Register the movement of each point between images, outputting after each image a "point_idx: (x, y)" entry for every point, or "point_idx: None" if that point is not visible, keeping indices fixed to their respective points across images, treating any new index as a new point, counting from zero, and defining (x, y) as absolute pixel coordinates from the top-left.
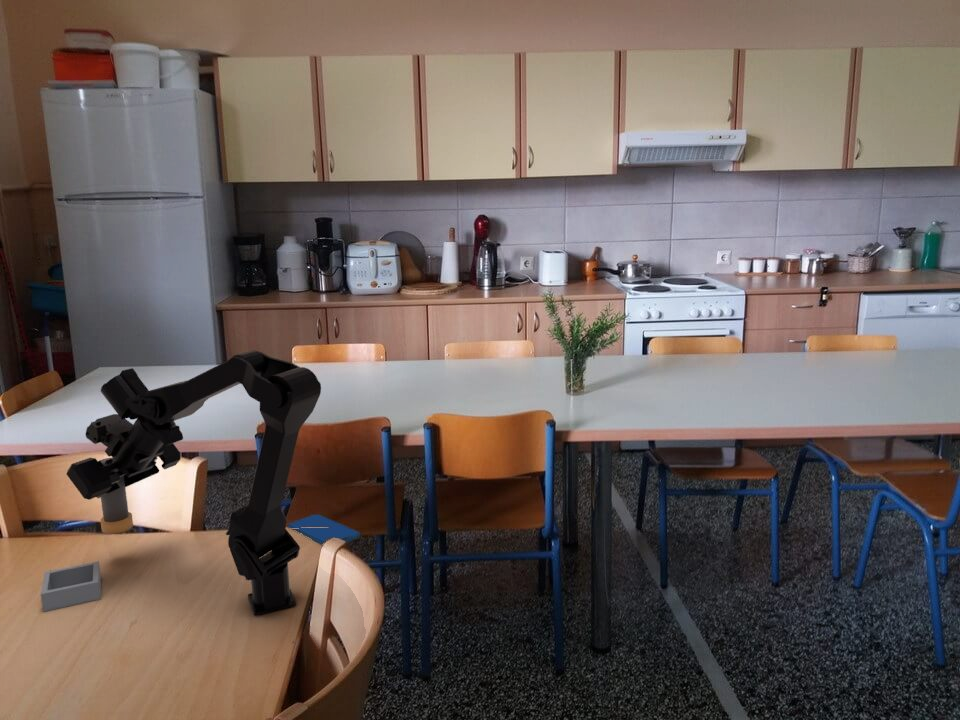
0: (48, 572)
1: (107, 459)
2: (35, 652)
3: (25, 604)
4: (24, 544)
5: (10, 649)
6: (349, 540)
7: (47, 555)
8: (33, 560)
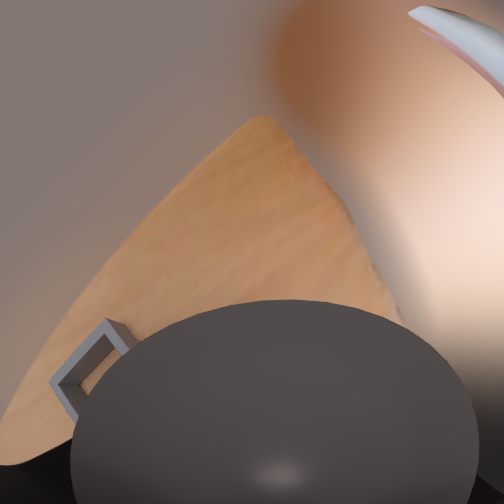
0: (105, 328)
1: (360, 416)
2: (18, 439)
3: (78, 331)
4: (258, 136)
5: (12, 402)
6: None
7: (237, 204)
8: (212, 198)
